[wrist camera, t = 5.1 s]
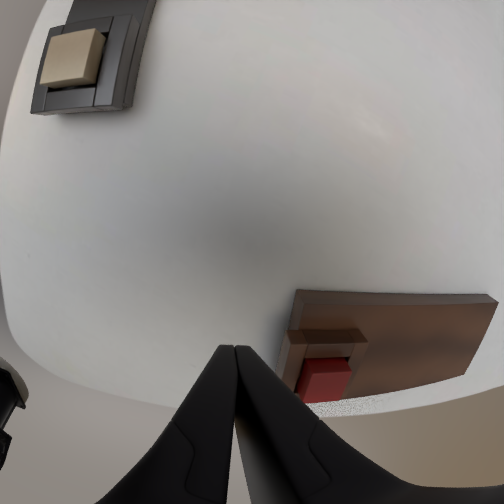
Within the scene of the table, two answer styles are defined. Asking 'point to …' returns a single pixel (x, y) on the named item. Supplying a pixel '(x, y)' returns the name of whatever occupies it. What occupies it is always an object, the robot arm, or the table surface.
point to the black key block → (112, 60)
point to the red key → (323, 379)
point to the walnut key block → (385, 337)
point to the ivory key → (73, 59)
